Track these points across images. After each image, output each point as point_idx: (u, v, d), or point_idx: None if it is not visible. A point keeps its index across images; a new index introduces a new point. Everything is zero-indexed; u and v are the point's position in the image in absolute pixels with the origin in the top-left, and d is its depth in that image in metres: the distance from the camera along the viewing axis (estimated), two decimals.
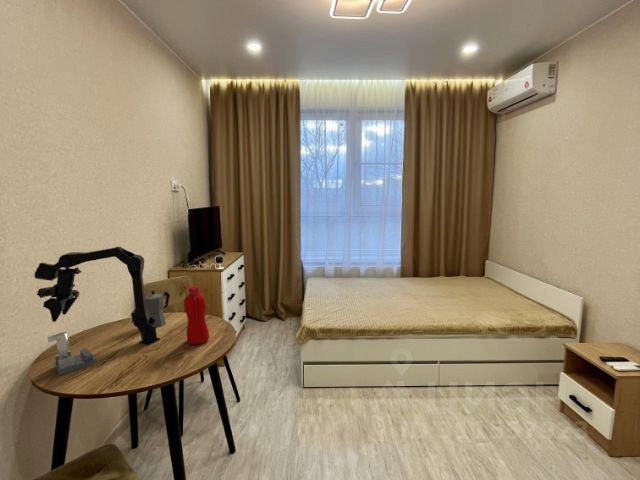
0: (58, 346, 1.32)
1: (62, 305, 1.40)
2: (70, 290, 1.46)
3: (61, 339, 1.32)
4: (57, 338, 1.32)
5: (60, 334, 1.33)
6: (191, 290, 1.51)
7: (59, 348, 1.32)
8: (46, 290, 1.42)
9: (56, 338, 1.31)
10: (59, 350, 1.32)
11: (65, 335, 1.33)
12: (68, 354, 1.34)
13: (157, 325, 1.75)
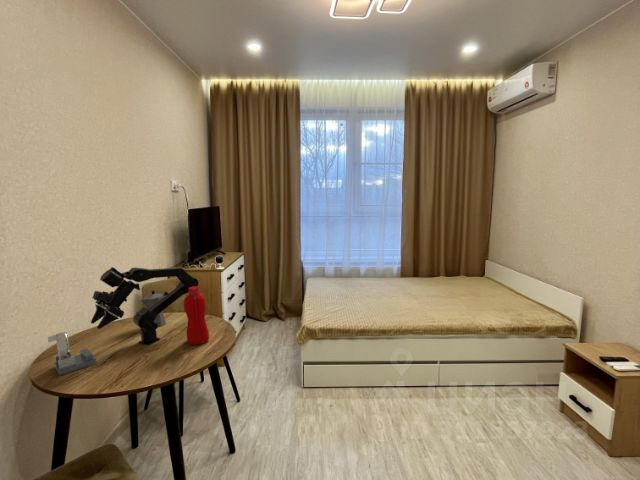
0: (58, 346, 1.32)
1: None
2: (122, 302, 1.48)
3: (61, 339, 1.32)
4: (57, 338, 1.32)
5: (60, 334, 1.33)
6: (191, 290, 1.51)
7: (59, 348, 1.32)
8: None
9: (56, 338, 1.31)
10: (59, 350, 1.32)
11: (65, 335, 1.33)
12: (68, 354, 1.34)
13: None
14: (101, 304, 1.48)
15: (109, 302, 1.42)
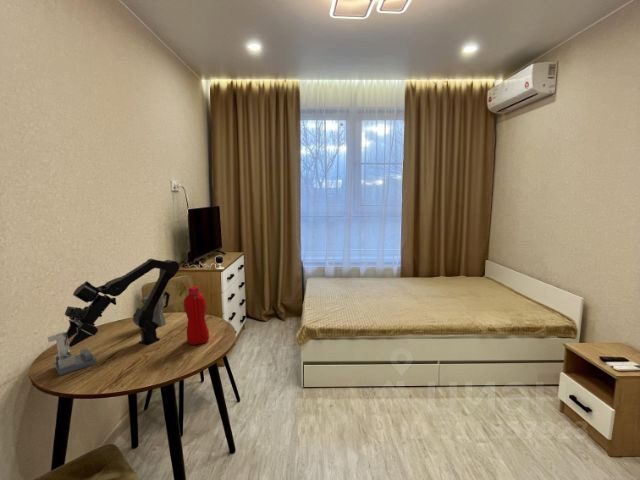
0: (58, 346, 1.32)
1: None
2: (97, 318, 1.41)
3: (61, 339, 1.32)
4: (57, 338, 1.32)
5: (60, 334, 1.33)
6: (191, 290, 1.51)
7: (59, 348, 1.32)
8: (81, 311, 1.35)
9: (56, 338, 1.31)
10: (59, 350, 1.32)
11: (65, 335, 1.33)
12: (68, 354, 1.34)
13: None
14: (75, 320, 1.41)
15: (82, 318, 1.35)
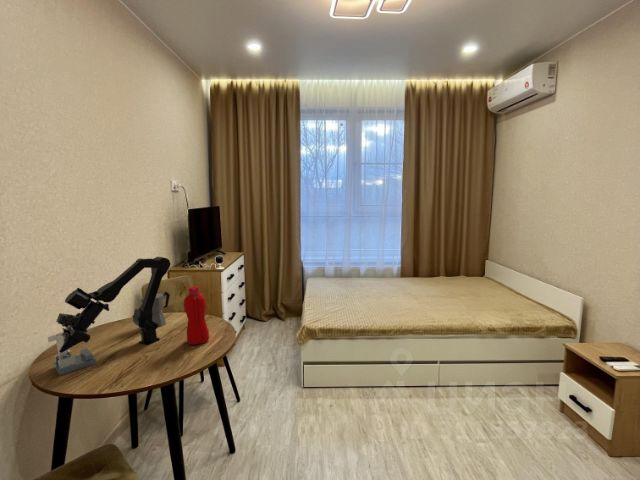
0: (58, 346, 1.32)
1: None
2: (90, 324, 1.39)
3: (61, 339, 1.32)
4: (57, 338, 1.32)
5: (60, 334, 1.33)
6: (191, 290, 1.51)
7: (59, 348, 1.32)
8: (73, 318, 1.33)
9: (56, 338, 1.31)
10: (59, 350, 1.32)
11: (65, 335, 1.33)
12: (68, 354, 1.34)
13: None
14: (69, 328, 1.37)
15: (74, 325, 1.34)
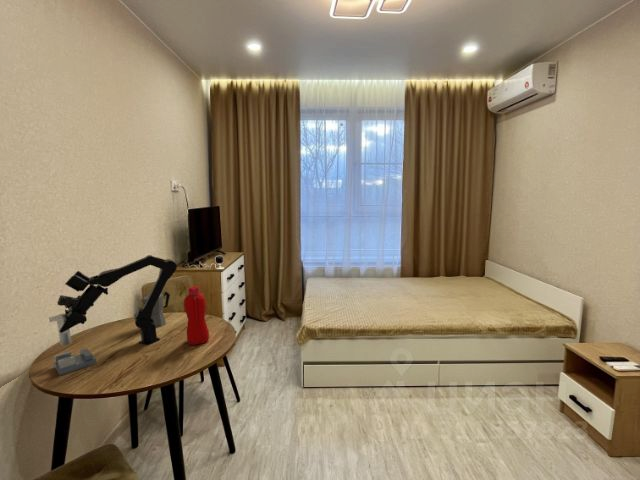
0: (58, 326, 1.38)
1: None
2: (89, 307, 1.44)
3: (61, 319, 1.37)
4: (57, 319, 1.37)
5: (60, 315, 1.38)
6: (191, 290, 1.51)
7: (59, 328, 1.38)
8: (71, 300, 1.38)
9: (56, 319, 1.37)
10: (59, 330, 1.38)
11: (65, 316, 1.38)
12: (68, 335, 1.39)
13: (157, 325, 1.75)
14: (70, 310, 1.43)
15: (73, 307, 1.39)
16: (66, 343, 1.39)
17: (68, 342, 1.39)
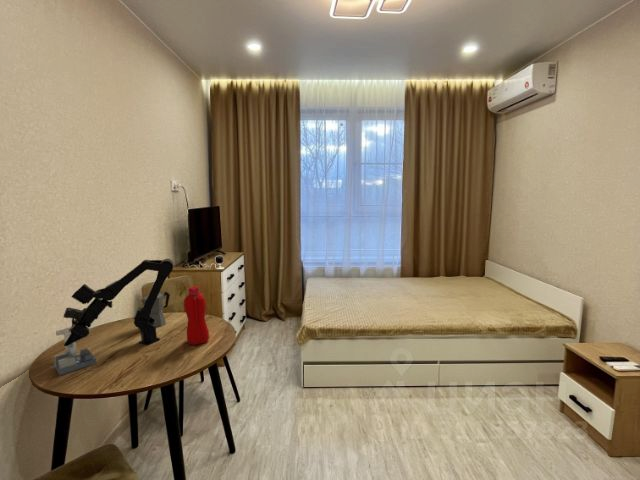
0: (65, 340, 1.43)
1: None
2: None
3: (67, 333, 1.42)
4: (64, 332, 1.42)
5: (67, 329, 1.43)
6: (191, 290, 1.51)
7: None
8: (76, 313, 1.42)
9: (63, 332, 1.42)
10: None
11: None
12: (73, 348, 1.44)
13: (157, 325, 1.75)
14: None
15: (78, 320, 1.43)
16: None
17: (73, 355, 1.44)
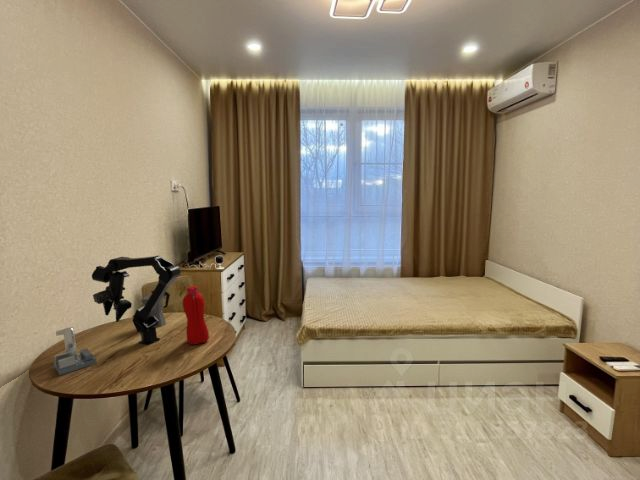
0: (65, 340, 1.43)
1: None
2: None
3: (67, 333, 1.42)
4: (63, 333, 1.42)
5: (67, 329, 1.43)
6: (189, 290, 1.51)
7: (65, 342, 1.43)
8: None
9: (63, 332, 1.42)
10: (65, 344, 1.43)
11: (71, 330, 1.43)
12: (73, 348, 1.44)
13: (157, 325, 1.75)
14: None
15: (112, 299, 1.53)
16: None
17: (73, 355, 1.44)
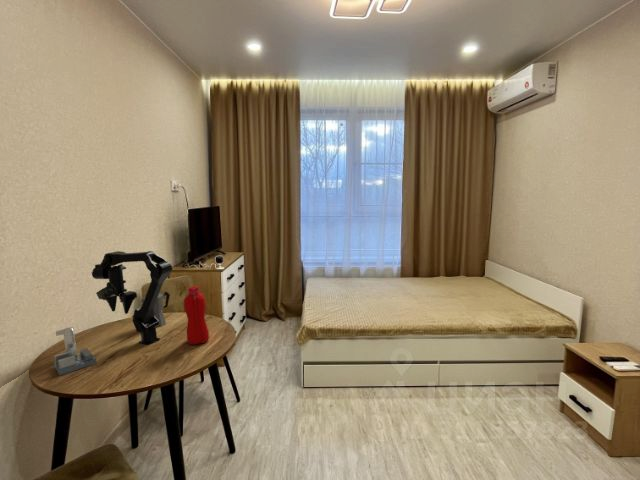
0: (64, 340, 1.43)
1: None
2: None
3: (67, 333, 1.42)
4: (63, 333, 1.42)
5: (67, 329, 1.43)
6: (191, 290, 1.51)
7: (65, 342, 1.43)
8: None
9: (63, 332, 1.42)
10: (65, 344, 1.43)
11: (71, 330, 1.43)
12: (73, 348, 1.44)
13: None
14: None
15: (116, 293, 1.55)
16: None
17: (73, 355, 1.44)
